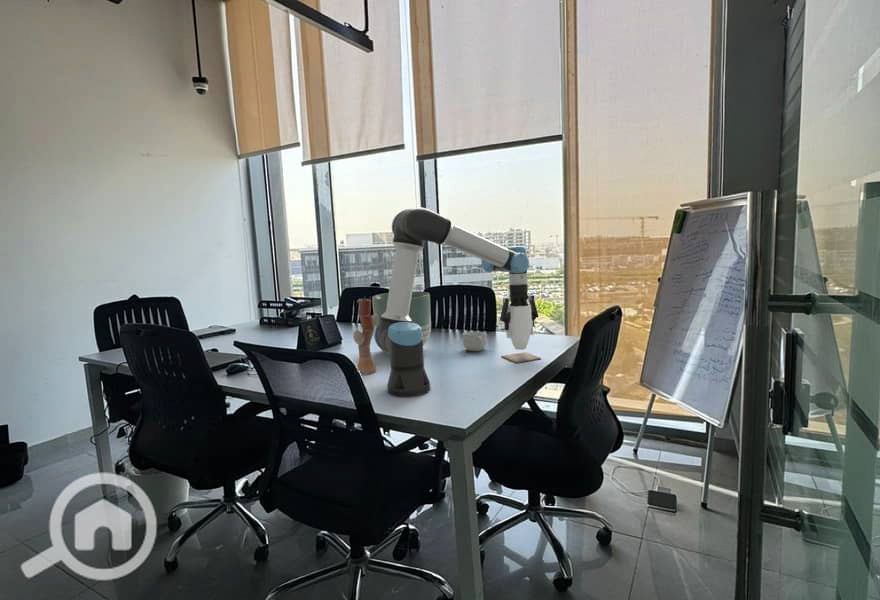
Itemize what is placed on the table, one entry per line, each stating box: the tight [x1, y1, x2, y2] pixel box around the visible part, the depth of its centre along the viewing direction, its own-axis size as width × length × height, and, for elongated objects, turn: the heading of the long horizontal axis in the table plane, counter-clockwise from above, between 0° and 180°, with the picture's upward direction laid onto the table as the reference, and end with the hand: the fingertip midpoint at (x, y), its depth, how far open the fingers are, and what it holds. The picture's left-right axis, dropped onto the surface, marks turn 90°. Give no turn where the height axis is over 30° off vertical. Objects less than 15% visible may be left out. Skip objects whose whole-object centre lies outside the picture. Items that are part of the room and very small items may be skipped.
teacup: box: [462, 331, 487, 352], centre depth 221 cm, size 14×11×8 cm
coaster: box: [501, 351, 542, 364], centre depth 204 cm, size 12×12×1 cm
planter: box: [371, 291, 432, 347], centre depth 225 cm, size 27×27×27 cm
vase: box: [352, 298, 378, 376], centre depth 194 cm, size 10×7×30 cm
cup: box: [507, 303, 532, 351], centre depth 202 cm, size 10×10×22 cm
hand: (519, 336), depth 203 cm, fingers closed on cup, 10 cm apart
